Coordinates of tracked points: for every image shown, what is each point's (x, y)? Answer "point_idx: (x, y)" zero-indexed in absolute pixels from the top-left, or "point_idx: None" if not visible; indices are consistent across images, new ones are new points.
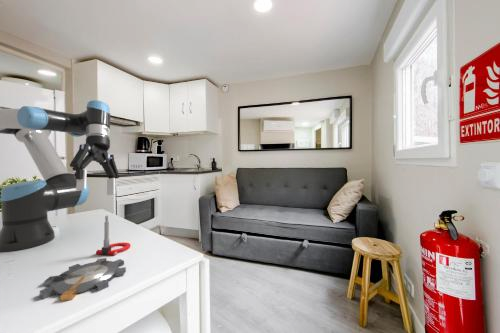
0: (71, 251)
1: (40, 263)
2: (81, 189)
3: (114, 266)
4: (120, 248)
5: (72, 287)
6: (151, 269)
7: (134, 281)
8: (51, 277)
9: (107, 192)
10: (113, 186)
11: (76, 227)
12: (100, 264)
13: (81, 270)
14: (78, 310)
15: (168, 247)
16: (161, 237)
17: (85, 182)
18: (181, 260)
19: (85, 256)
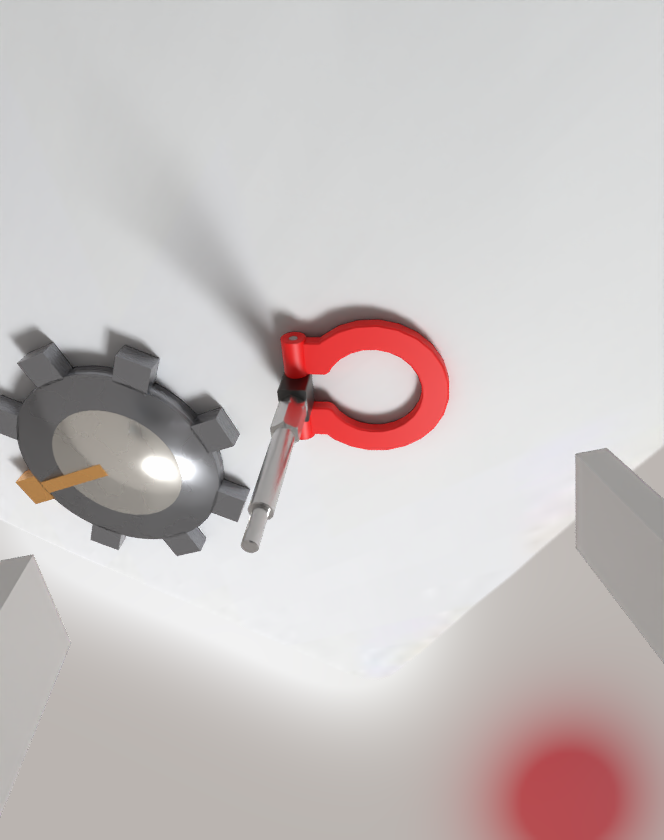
0: (285, 113)
1: (105, 91)
2: (45, 597)
3: (190, 516)
4: (351, 430)
5: (50, 482)
6: (244, 597)
7: (173, 583)
8: (42, 364)
9: (594, 482)
10: (639, 627)
11: None
12: (183, 461)
13: (121, 430)
14: (33, 532)
15: (427, 590)
16: (567, 522)
17: (30, 712)
18: (323, 651)
19: (254, 287)
